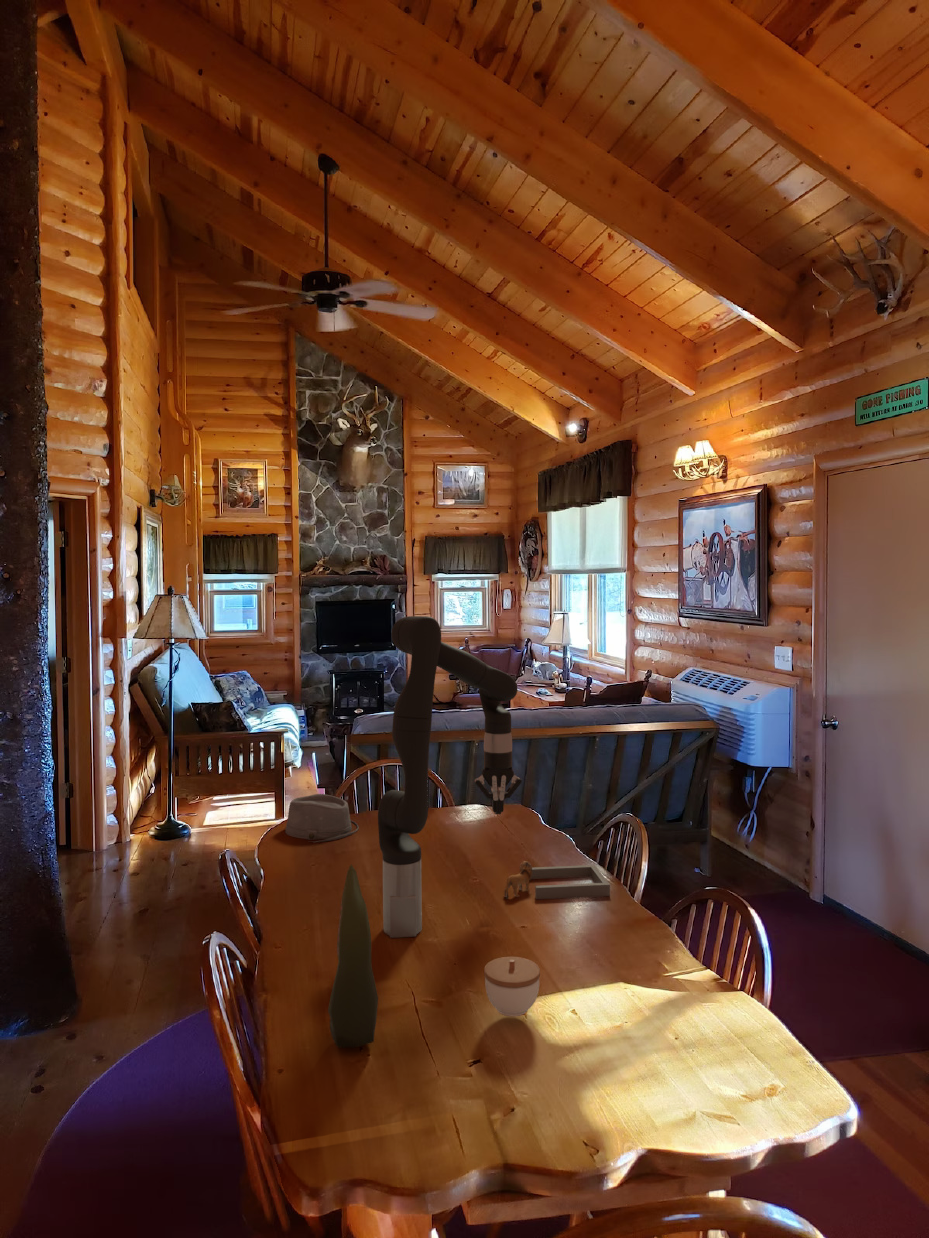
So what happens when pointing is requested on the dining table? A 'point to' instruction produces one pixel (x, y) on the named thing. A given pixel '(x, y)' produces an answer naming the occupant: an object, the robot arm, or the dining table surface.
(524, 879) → the lion figurine
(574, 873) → the bay
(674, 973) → the dining table surface
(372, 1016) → the tentacle
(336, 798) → the fedora
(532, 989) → the lidded jar
